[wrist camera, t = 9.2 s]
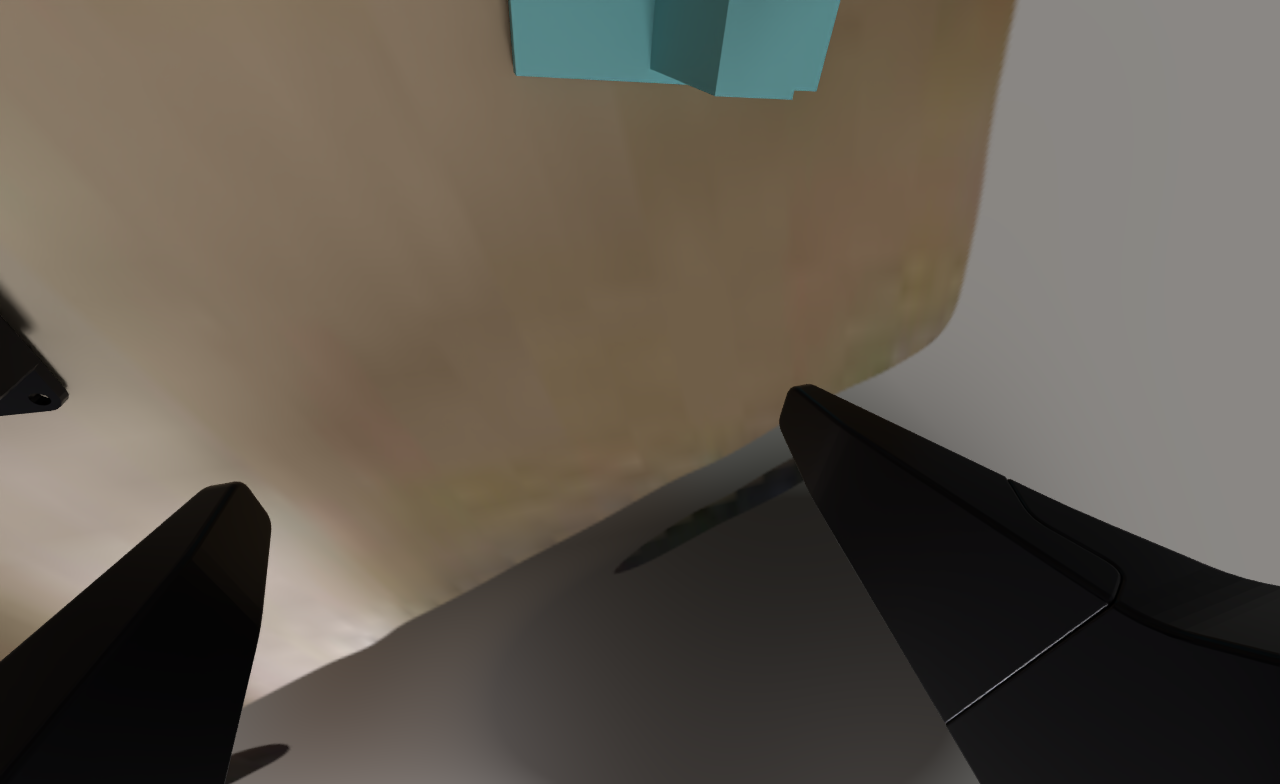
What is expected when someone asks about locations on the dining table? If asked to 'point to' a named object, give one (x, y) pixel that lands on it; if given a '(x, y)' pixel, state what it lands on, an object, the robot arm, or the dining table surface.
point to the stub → (677, 42)
